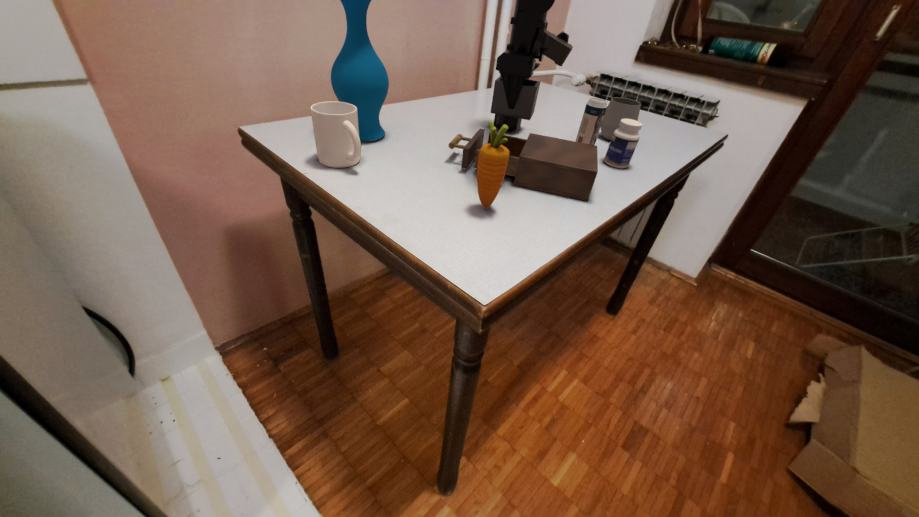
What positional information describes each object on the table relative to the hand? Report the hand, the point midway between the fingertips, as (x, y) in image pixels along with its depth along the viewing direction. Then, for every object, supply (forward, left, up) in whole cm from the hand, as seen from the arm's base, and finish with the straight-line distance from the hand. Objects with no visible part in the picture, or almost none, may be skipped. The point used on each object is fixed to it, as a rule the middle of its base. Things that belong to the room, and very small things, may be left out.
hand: (514, 104), depth 73 cm
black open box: (0, 0, -2) cm, 2 cm away
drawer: (-2, -3, -12) cm, 12 cm away
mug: (-24, -24, -13) cm, 36 cm away
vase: (-32, -9, -13) cm, 36 cm away
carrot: (+7, -20, -13) cm, 25 cm away
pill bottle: (+21, +20, -13) cm, 31 cm away
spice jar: (+12, +23, -13) cm, 28 cm away
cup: (+16, +39, -13) cm, 43 cm away
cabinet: (+12, +1, -13) cm, 17 cm away
